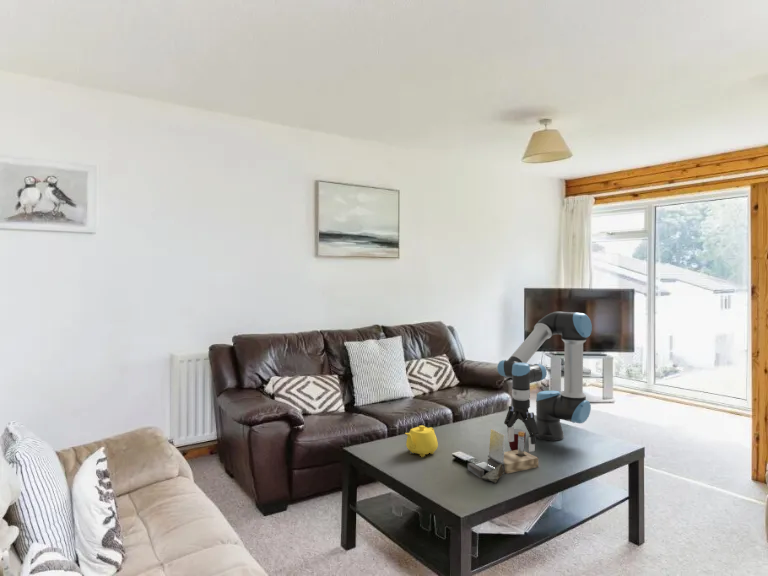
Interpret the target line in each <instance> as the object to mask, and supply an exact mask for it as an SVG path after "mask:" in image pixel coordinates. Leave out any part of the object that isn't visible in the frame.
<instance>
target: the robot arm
mask: <svg viewBox="0 0 768 576" xmlns="http://www.w3.org/2000/svg"><path fill="white" fill-rule="evenodd" d="M592 329H593V326H592V321H591V318H590V317H589V316H588V315H587V314H586V313H583V312H576V311H575V312H574V311H573V312H572V311H571V312H569V311H553V312H550V313H549V314H547V315H544V317H543V316H542V318H541V319H539V320H538V322H536V324H535V325H534V326H533V330H532V331H531V333H530V334H529V335H528V336H527V337H526V339H524V341H522V343H520V345H519V347H518V348H517V349H516V350H515V351H514V353H512V354H511V356H510V357H509V358H508V359H507V360H506V359H503V360H500V361H499V362H498V364H497V368H496V370H497V373H498V375H500V377H501V376H503V377H505V378H511V380H512V381H511V383H512V384H511V387H512V388H511V391H512V394H511V396H512V399H511V402H512V403H511V405H510V406H508V412H507V413H506V417H505V419H504V425H506V427H507V438H508V439H507V441H508V443H509V442H513V441H514V429H515V427H514V424H515V423H516V422H517V420H520V421H521V422H522V423H523V424H524V426H525V428H526V430H527V432H528V453H531V452H535V451H536V439H539V440H544V441H560V440H562V439H564V436H565V434H564V430H563V426H562V424H561V420H562V421H566V422H571V423H573V424H574V423H575V424H584V423H585V422H587V420H588V419H589V417H590V415H591V409H592V406H591V402H590V401H588V400H587V399H586V398H587V395H586V393H584V391H583V386H584V383H583V379H584V378H583V377H584V376H583V375H584V343H586V341H587V338H589V337H590V335H592V332H593V331H592ZM554 335H559V336H561V337H560V338H561V340H562V341H563V343H564V360H563V361H564V363H563V365H564V368H563V377H564V378H563V391H562V392H561V391H558V390H542V391H539V392H538V393H536V397H535V399H536V400H535V404H536V406H535V407H536V409H535V412H536V414H535V413H534V412H530V411H529V409H530V408H531V389H530V387H531V384H532V383H537V382H540V381H543V380H544V379H546V377H547V369H546V367H545V366H544V365H543V364H541V363H534V364H531V363H528V362H529V361H530V359H531V358H533V356H534V354H536V353H537V351H538V350H539V349H540V347H541V346H542V345H543V344H544V342H545V341H546V340H548V339H551V337H552V336H554ZM535 415H536V417H535ZM535 419H536V420H535Z"/></svg>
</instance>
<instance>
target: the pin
mask: <svg viewBox="0 0 768 576" xmlns="http://www.w3.org/2000/svg"><path fill="white" fill-rule="evenodd" d="M524 445H525V444H524V432H521V431H520V432H518V456H519V457H523V456H524V451H525V448H524Z"/></svg>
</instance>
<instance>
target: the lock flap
mask: <svg viewBox="0 0 768 576" xmlns="http://www.w3.org/2000/svg"><path fill="white" fill-rule="evenodd" d="M505 445H506V434H504V433H502V432H499V431H497V430H496V429H494V428H491V429H490V436H489V449H488V455H487V457H488V459H489V458H490V459H492V460H494V461H496V462H498V463H500V464H502V465H504V464H505V463H504V452H505V447H506V446H505Z"/></svg>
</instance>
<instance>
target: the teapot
mask: <svg viewBox="0 0 768 576" xmlns="http://www.w3.org/2000/svg"><path fill="white" fill-rule="evenodd" d="M404 434H405V435H406V436H407V437H406V443H405V446H406V448H407V449H408V451H410V452H412V453H415V454H416V455H417V454H418V455H419V457H420V456H421V457H420V458H425V457H426V455H428V454H429V453H430V455H433V454H435V452H436V450H438V447H439V443H438V438H437V436H436V433H435V429H434V428H433V427H427V426H425V425H418V426H416V427H413V428H410V430H409V432H405V433H404ZM424 456H425V457H424Z"/></svg>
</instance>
